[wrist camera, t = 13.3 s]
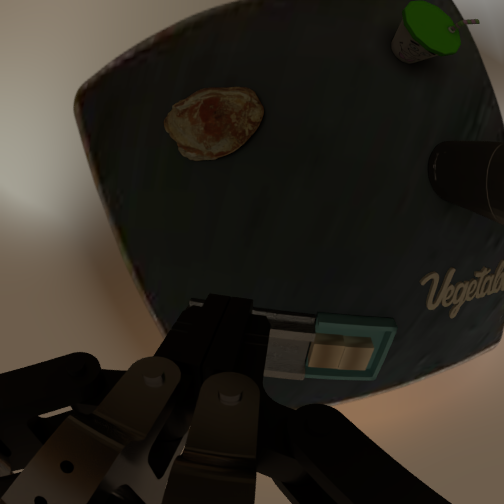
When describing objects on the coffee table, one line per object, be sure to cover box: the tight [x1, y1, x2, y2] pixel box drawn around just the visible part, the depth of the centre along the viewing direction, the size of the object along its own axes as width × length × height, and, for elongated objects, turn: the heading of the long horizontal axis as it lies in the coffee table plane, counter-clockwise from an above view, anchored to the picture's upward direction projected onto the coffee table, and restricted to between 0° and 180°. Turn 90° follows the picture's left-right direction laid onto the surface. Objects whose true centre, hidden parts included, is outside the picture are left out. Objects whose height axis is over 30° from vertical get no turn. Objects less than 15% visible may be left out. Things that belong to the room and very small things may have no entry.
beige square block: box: [308, 333, 345, 369], centre depth 42 cm, size 5×5×3 cm
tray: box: [305, 312, 398, 380], centre depth 42 cm, size 13×12×3 cm
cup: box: [391, 1, 479, 64], centre depth 19 cm, size 8×8×15 cm
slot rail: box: [186, 298, 316, 380], centre depth 43 cm, size 20×11×4 cm, turn 86°
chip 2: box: [337, 336, 374, 370], centre depth 41 cm, size 5×5×3 cm
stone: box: [164, 87, 264, 161], centre depth 33 cm, size 13×10×3 cm
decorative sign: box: [420, 259, 504, 318], centre depth 36 cm, size 26×1×10 cm
